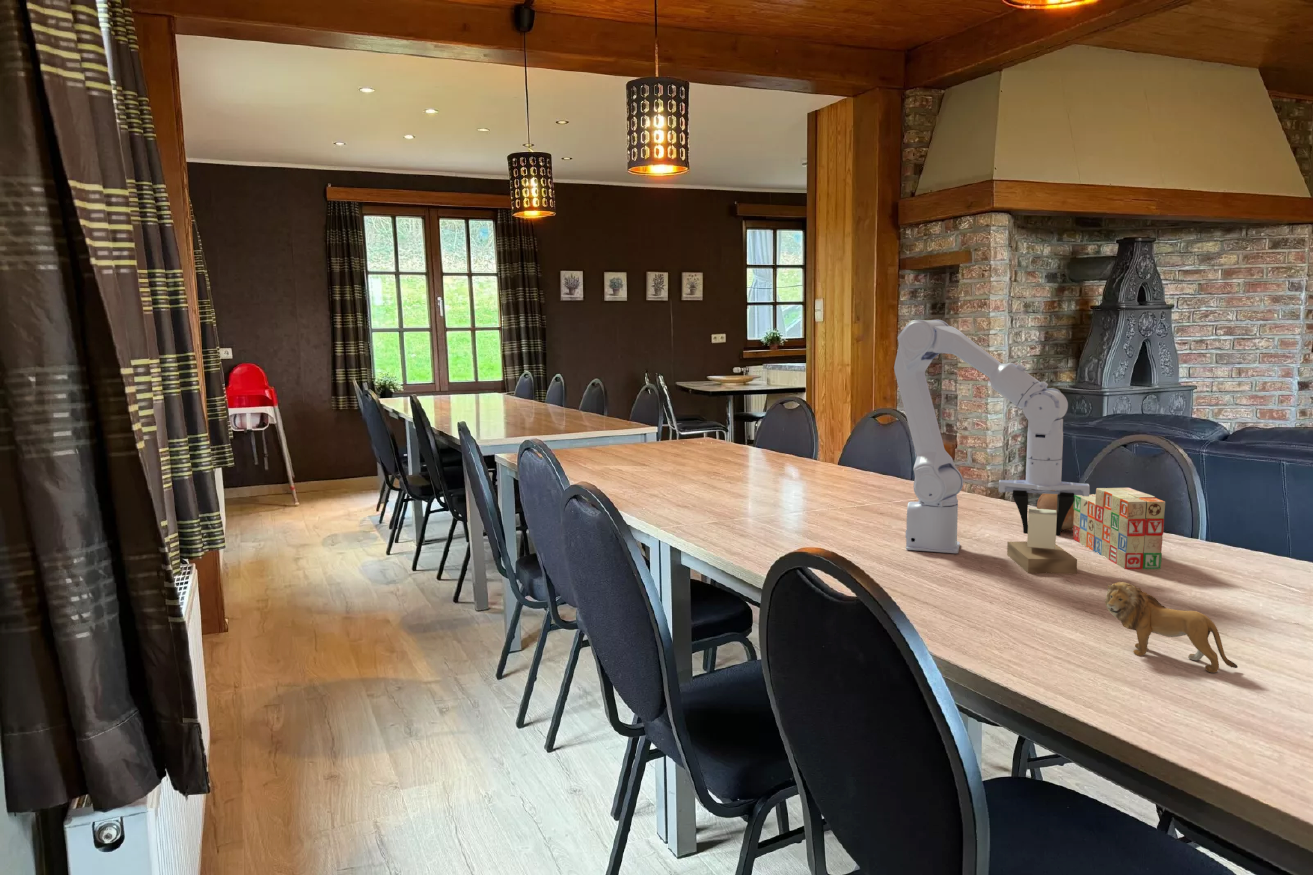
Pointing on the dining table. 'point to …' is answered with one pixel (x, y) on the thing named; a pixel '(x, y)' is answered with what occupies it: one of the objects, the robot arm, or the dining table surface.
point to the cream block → (1042, 528)
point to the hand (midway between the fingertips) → (1041, 533)
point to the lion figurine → (1163, 622)
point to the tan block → (1042, 559)
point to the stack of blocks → (1121, 526)
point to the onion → (1051, 504)
